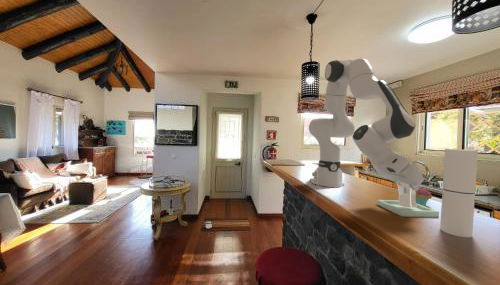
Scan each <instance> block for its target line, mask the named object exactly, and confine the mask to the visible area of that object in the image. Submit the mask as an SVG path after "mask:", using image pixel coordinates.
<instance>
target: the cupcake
mask: <svg viewBox="0 0 500 285" xmlns="http://www.w3.org/2000/svg"><path fill="white" fill-rule="evenodd" d="M432 197H433V196H432V193H431V192H430V191H429V190H428V189H426V188H421V187H419V189H418V190H417V191H416V203H417V204H420V205H422V206H425V207H426V205H427V203H428V201H429V200H430V199H432Z"/></svg>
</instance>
